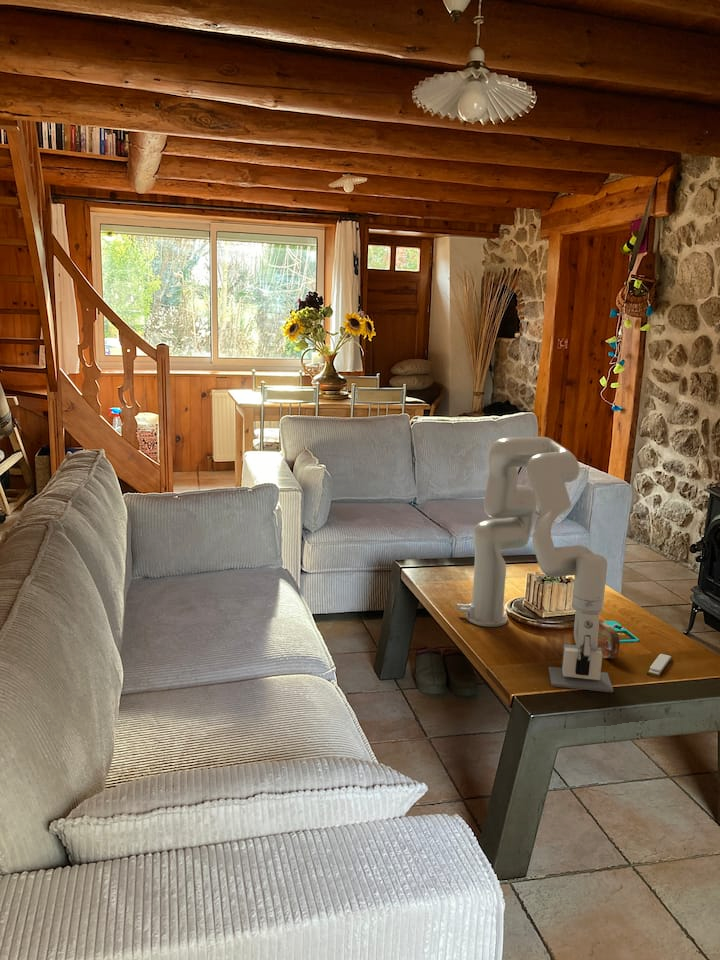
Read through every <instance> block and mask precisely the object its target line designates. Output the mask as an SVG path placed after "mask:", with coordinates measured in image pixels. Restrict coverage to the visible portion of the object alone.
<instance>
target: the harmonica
mask: <svg viewBox="0 0 720 960" xmlns="http://www.w3.org/2000/svg"><path fill="white" fill-rule="evenodd" d="M672 660H673V656H671V655H668V654H664V653H660V654H659V655H658V656H657V657H656V659H655V660H654V661H653V663H652V664H651V665H650V667H649V670H648V671H647V673H646V675H647V676H651V677H654V678H658V679H659V678H660V677H661V675H662V673H663V672H664V671H665V669H667V668H668V665H669V664H670V662H672Z"/></svg>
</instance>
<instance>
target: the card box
mask: <svg viewBox="0 0 720 960" xmlns="http://www.w3.org/2000/svg"><path fill="white" fill-rule="evenodd" d="M581 648H584V646H581ZM578 652H579V649H578V648H577V646H576V644H563V655H562V663H561V664H562V665H561V668H562V673H563V676H565V677H575V678H584V679H594V680H600V673H601V671H602V662H603V657H602V651H601V649H600V648H597V651H594V650H592V647H591V651H590V667H589V675H577V674H576V662H577V659H578ZM583 652H584V651H581V654H582V653H583Z"/></svg>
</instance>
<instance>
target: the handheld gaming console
mask: <svg viewBox="0 0 720 960" xmlns="http://www.w3.org/2000/svg"><path fill="white" fill-rule="evenodd" d="M603 621H604V622H605V623H607V624H608V625H609V626H611V627H612V628H613V629H614V630H616V632H617V633H618V636H619V639H620V644H621V643H637V642H639V640H640V638H638V637H637V636H636V635H634V634H633V633H632V632H631V631H629V630H628V629H627V628H625V627H623V626H622V625H621V624H620V623H619V622H617V621H615V620H603ZM626 634H627V635H628V636H629V637H630V638H622V636H623V635H624V636H626ZM620 637H621V638H620Z"/></svg>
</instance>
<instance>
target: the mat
mask: <svg viewBox="0 0 720 960" xmlns="http://www.w3.org/2000/svg"><path fill="white" fill-rule="evenodd" d="M548 673H549V679H550V685H551V687H557V688H558V687H559V688H569V689H577V690H578V689H579V690H586V691H587V690H588V691H597V692H603V693H604V692H605V693H614V688H613V686H612V682H611V679H610V676H609V673H608V672H604V671H602V672H601V673H600V680H594V679H584V678H575V677H565V676H563V673H562V667H556V666H555V667H554V666H548Z"/></svg>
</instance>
